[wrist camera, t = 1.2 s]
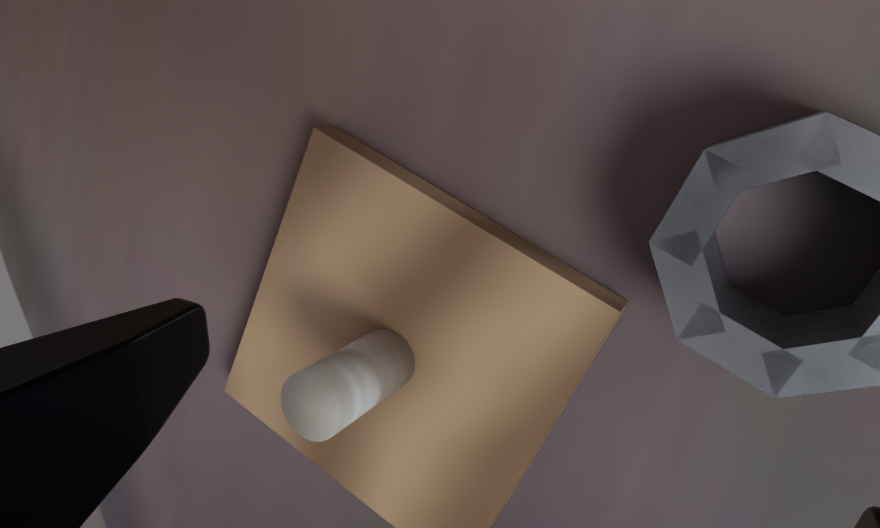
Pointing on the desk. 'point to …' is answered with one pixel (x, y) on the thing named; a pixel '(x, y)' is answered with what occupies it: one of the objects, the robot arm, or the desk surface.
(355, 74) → the desk surface
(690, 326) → the ring
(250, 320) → the post block
